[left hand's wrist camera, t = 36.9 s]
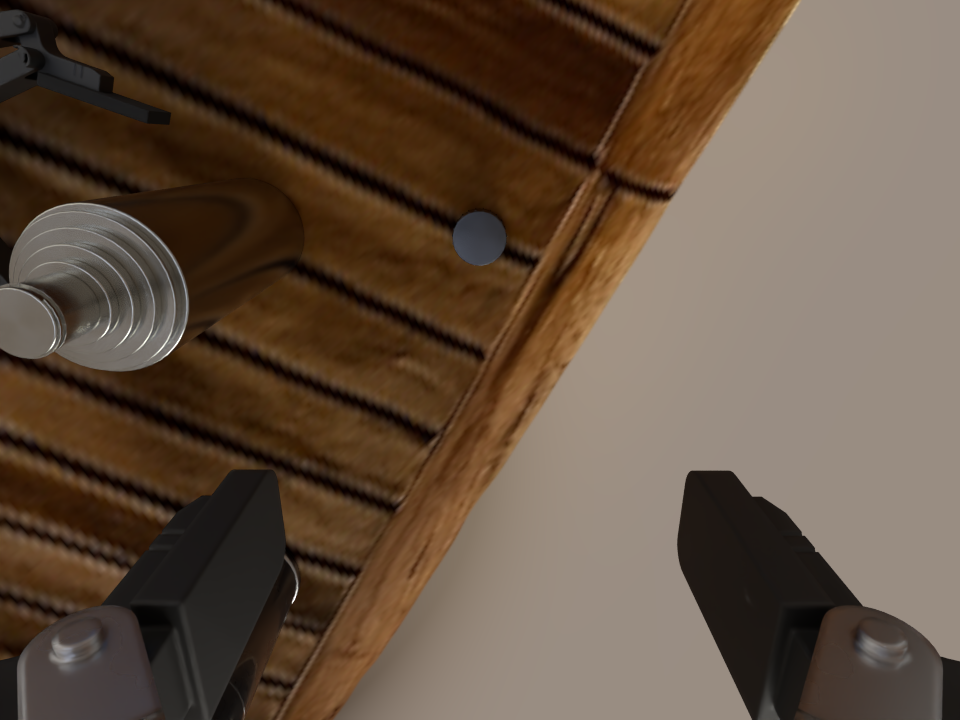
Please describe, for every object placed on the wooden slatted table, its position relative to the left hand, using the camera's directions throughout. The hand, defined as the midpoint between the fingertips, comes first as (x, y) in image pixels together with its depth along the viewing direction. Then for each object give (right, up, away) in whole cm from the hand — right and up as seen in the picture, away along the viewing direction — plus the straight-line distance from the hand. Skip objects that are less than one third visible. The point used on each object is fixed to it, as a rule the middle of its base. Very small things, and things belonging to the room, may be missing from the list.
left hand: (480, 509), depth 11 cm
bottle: (-18, +13, +34) cm, 40 cm away
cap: (0, +12, +32) cm, 34 cm away
